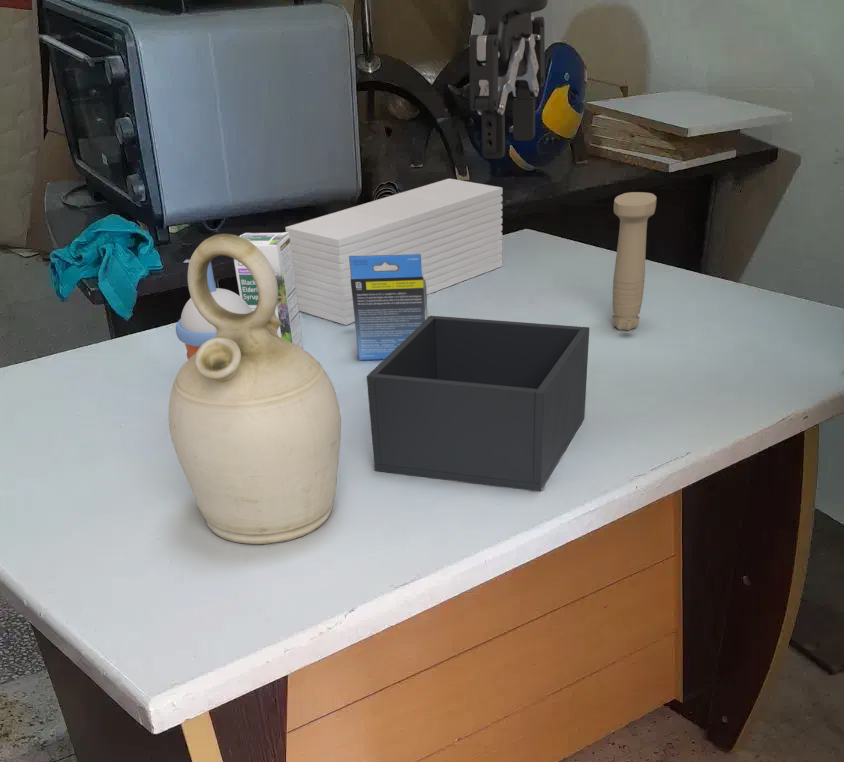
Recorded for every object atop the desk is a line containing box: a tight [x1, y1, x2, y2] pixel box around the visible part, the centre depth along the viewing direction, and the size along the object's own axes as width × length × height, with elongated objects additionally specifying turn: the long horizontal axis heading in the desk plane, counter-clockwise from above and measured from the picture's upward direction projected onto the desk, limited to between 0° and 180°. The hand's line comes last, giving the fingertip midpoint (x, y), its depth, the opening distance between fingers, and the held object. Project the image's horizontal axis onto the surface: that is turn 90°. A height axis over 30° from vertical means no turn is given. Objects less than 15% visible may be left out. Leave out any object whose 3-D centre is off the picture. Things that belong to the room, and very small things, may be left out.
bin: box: [366, 315, 590, 492], centre depth 104 cm, size 18×18×10 cm
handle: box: [612, 191, 657, 331], centre depth 126 cm, size 5×6×15 cm
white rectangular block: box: [285, 178, 503, 326], centre depth 145 cm, size 32×11×11 cm, turn 135°
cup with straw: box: [175, 261, 253, 361], centre depth 110 cm, size 9×9×18 cm
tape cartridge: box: [349, 254, 429, 361], centre depth 124 cm, size 9×4×12 cm, turn 84°
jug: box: [168, 233, 342, 545], centre depth 90 cm, size 15×16×25 cm
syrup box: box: [233, 231, 304, 349], centre depth 124 cm, size 6×6×14 cm
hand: (509, 148), depth 104 cm, fingers open, 8 cm apart
